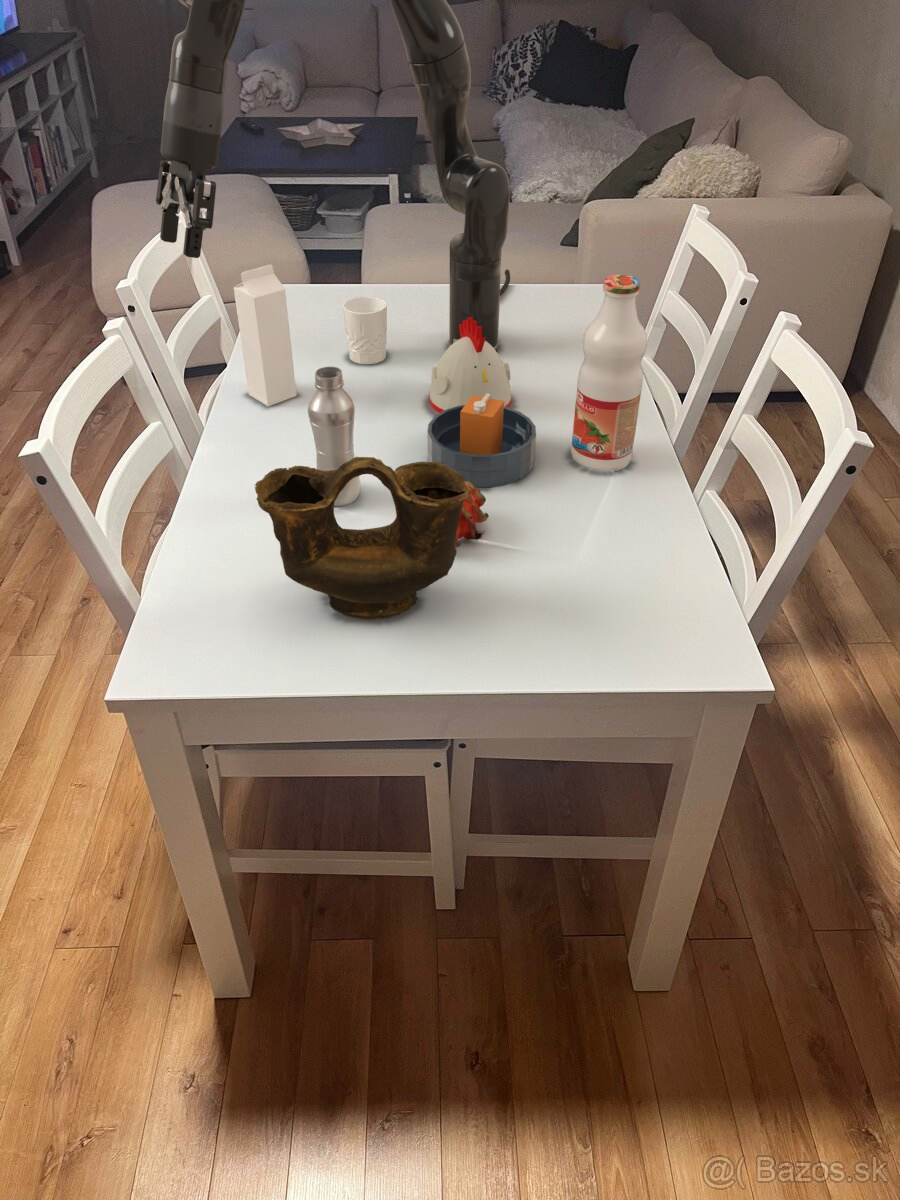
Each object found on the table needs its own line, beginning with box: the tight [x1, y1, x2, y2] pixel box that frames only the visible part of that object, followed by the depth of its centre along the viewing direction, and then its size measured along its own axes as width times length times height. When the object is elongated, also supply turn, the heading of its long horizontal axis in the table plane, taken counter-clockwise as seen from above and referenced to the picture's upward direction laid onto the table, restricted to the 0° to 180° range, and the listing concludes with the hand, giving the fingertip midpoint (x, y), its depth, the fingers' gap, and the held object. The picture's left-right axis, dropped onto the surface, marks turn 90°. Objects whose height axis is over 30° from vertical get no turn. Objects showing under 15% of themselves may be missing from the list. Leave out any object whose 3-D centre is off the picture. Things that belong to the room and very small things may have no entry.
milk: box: [233, 263, 298, 407], centre depth 155 cm, size 6×6×22 cm
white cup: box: [342, 296, 388, 365], centre depth 171 cm, size 8×8×10 cm
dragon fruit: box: [455, 481, 490, 549], centre depth 127 cm, size 8×8×12 cm
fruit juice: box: [570, 274, 648, 472], centre depth 137 cm, size 9×9×28 cm
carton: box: [460, 394, 504, 455], centre depth 141 cm, size 6×5×10 cm
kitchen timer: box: [429, 317, 512, 414], centre depth 155 cm, size 14×14×15 cm
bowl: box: [427, 405, 537, 488], centre depth 143 cm, size 16×16×6 cm
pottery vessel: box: [254, 456, 471, 620], centre depth 113 cm, size 25×11×20 cm, turn 96°
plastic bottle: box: [307, 366, 362, 507], centre depth 130 cm, size 6×7×20 cm
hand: (179, 249), depth 133 cm, fingers open, 8 cm apart
